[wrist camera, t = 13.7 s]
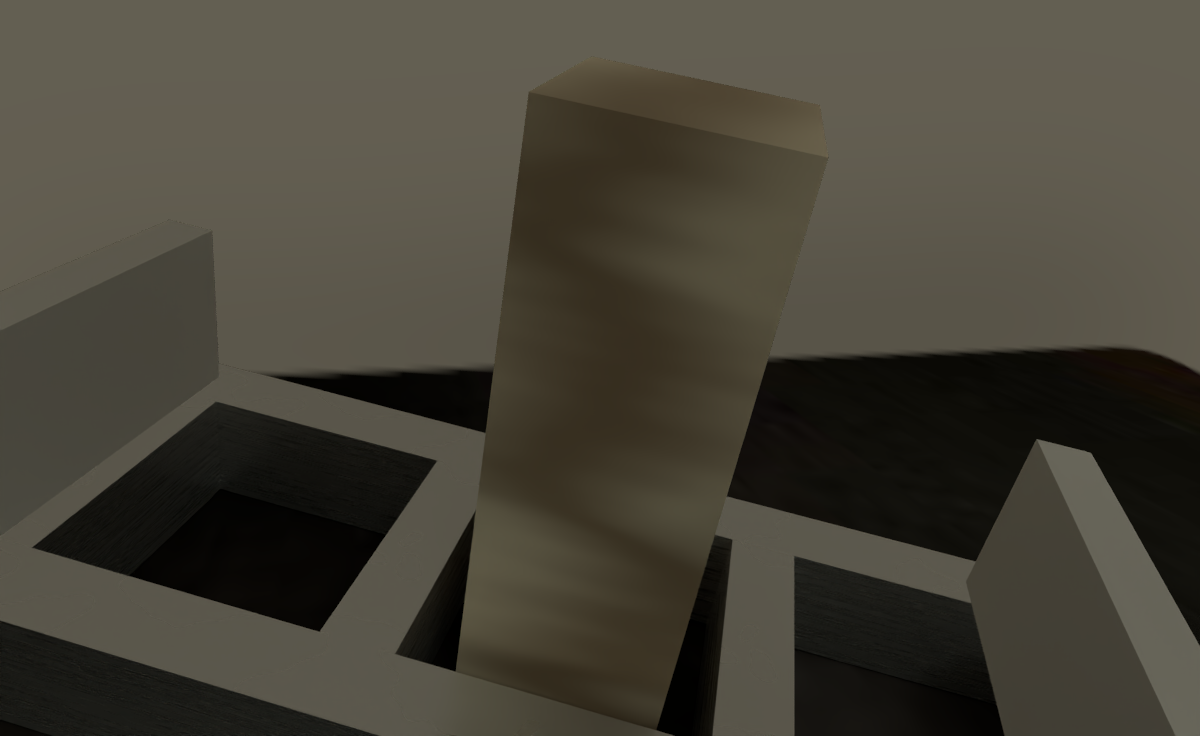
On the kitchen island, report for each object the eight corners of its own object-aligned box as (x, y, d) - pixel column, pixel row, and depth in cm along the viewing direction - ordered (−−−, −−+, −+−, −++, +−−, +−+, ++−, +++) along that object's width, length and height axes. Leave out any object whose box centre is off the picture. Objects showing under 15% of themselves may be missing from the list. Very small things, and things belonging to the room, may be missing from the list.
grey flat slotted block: (1053, 673, 24) (1101, 594, 22) (1205, 1100, 15) (1300, 1015, 14) (201, 441, 26) (196, 357, 25) (-94, 689, 18) (-128, 581, 16)
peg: (665, 641, 22) (819, 104, 16) (638, 786, 19) (828, 158, 12) (506, 596, 23) (591, 56, 16) (447, 729, 19) (528, 91, 12)
